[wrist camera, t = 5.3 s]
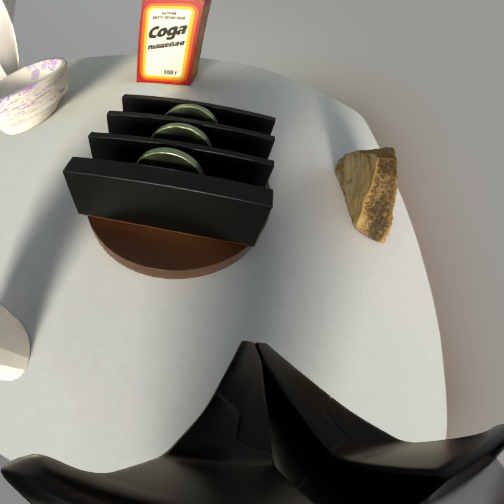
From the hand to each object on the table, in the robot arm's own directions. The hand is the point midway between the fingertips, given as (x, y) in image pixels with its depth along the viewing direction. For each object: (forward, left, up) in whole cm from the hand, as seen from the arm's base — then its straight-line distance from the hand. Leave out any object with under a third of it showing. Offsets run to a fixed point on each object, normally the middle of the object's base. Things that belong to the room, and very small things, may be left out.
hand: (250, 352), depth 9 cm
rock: (+24, -8, -11) cm, 28 cm away
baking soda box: (+38, +27, -11) cm, 48 cm away
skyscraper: (+22, +58, -11) cm, 63 cm away
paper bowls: (+18, +42, -11) cm, 47 cm away
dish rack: (+14, +10, -10) cm, 19 cm away
